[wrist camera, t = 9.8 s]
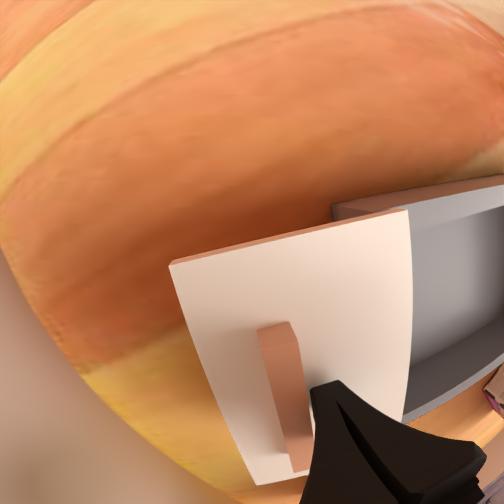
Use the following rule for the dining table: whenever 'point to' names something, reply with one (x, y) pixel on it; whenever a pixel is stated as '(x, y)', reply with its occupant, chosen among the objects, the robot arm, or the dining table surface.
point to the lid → (300, 329)
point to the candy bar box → (496, 391)
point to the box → (449, 284)
